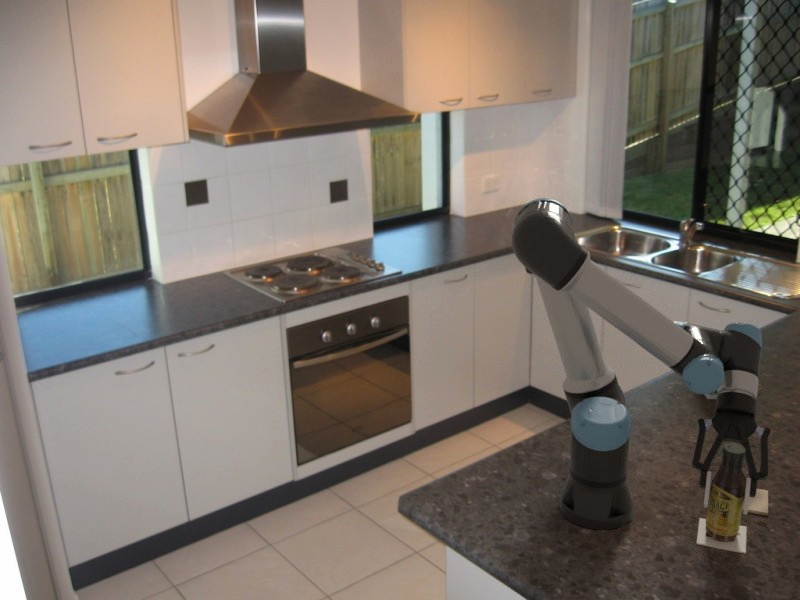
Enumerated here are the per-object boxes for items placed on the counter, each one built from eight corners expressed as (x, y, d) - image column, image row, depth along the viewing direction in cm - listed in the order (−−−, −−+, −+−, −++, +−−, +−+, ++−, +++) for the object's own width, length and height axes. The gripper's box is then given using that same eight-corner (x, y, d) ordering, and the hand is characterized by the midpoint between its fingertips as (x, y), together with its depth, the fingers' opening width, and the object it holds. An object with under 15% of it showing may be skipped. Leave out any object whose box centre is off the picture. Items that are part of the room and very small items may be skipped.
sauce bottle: (698, 529, 170) (707, 442, 164) (722, 521, 173) (732, 435, 166) (721, 547, 165) (732, 457, 158) (746, 539, 167) (757, 450, 160)
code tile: (696, 544, 166) (696, 542, 166) (699, 519, 174) (699, 517, 174) (745, 553, 163) (745, 552, 163) (746, 527, 171) (746, 526, 171)
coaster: (721, 507, 178) (721, 504, 178) (723, 485, 186) (723, 483, 186) (767, 515, 175) (768, 513, 175) (767, 492, 183) (767, 490, 182)
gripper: (787, 410, 171) (778, 523, 162) (686, 396, 178) (672, 504, 169) (791, 397, 165) (782, 514, 156) (686, 383, 172) (672, 495, 163)
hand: (725, 509), depth 163 cm, fingers open, 6 cm apart
